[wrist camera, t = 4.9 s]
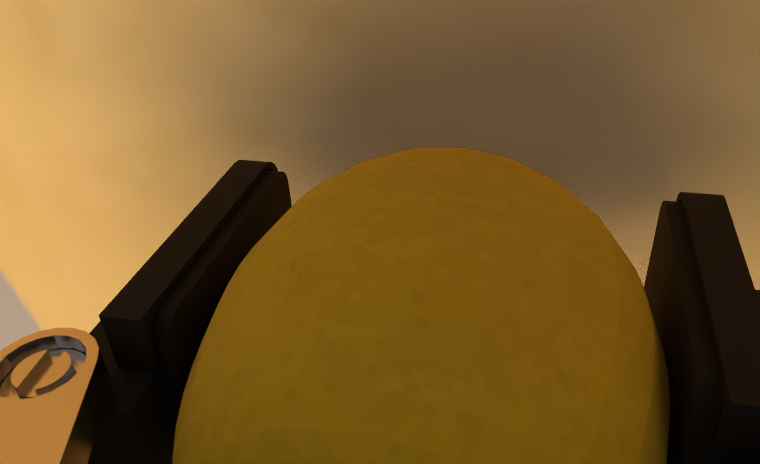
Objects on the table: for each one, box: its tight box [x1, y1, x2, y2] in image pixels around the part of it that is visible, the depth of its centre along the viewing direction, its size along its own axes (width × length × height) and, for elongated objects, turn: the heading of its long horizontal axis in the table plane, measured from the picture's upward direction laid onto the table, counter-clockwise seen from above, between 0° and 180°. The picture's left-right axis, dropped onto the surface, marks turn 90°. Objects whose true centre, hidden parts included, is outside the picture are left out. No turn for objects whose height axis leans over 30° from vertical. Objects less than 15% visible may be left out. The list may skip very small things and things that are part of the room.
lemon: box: [173, 148, 670, 464], centre depth 8 cm, size 6×6×8 cm
